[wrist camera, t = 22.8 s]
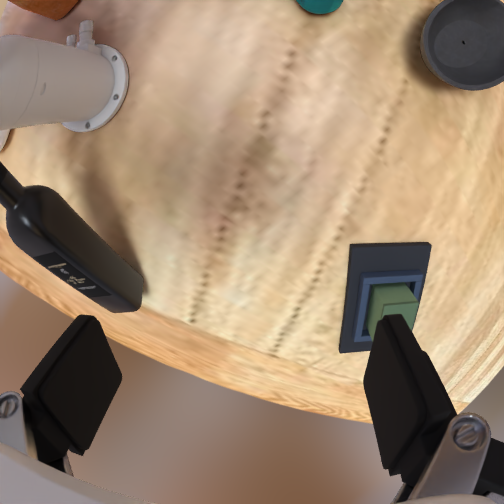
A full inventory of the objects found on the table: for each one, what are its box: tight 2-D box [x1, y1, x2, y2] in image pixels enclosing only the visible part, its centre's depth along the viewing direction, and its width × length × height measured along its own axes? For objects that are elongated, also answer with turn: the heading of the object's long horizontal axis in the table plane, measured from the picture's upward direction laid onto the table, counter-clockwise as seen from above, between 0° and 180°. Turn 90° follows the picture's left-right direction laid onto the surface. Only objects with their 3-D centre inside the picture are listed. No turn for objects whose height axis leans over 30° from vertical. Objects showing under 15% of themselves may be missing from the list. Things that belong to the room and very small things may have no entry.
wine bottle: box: [0, 162, 144, 313], centre depth 27 cm, size 6×6×30 cm
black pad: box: [339, 242, 432, 353], centre depth 39 cm, size 18×12×3 cm, turn 4°
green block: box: [366, 282, 419, 341], centre depth 37 cm, size 7×5×6 cm
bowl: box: [420, 0, 504, 90], centre depth 21 cm, size 12×22×6 cm, turn 129°
